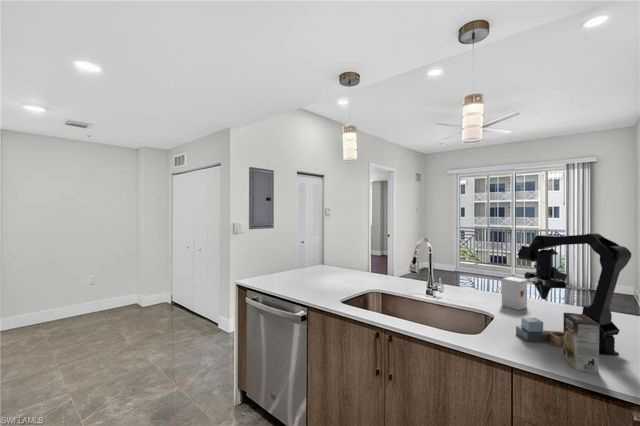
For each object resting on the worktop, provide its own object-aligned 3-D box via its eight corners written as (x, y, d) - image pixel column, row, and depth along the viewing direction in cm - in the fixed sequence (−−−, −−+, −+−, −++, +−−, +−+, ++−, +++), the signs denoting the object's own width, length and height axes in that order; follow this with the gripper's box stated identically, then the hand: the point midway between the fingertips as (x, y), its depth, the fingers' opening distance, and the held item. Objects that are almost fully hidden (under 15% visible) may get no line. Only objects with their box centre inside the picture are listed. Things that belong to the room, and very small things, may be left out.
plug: (543, 340, 121) (543, 322, 120) (528, 340, 121) (528, 321, 121) (535, 335, 126) (535, 317, 125) (521, 335, 126) (521, 317, 126)
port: (548, 342, 119) (548, 334, 119) (527, 342, 120) (527, 333, 120) (535, 334, 127) (535, 326, 127) (516, 333, 128) (516, 325, 128)
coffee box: (562, 357, 107) (562, 312, 107) (584, 359, 106) (584, 313, 105) (575, 370, 99) (576, 321, 98) (599, 373, 97) (600, 323, 97)
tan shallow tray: (575, 347, 115) (575, 338, 115) (556, 346, 116) (556, 338, 115) (562, 339, 122) (562, 331, 122) (544, 338, 123) (544, 330, 122)
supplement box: (519, 310, 156) (519, 281, 156) (501, 305, 163) (501, 278, 163) (527, 307, 161) (527, 279, 161) (509, 303, 168) (509, 276, 168)
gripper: (580, 268, 122) (580, 306, 122) (548, 260, 141) (548, 293, 141) (551, 267, 123) (551, 306, 123) (523, 260, 142) (523, 293, 142)
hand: (543, 299), depth 132 cm, fingers closed
